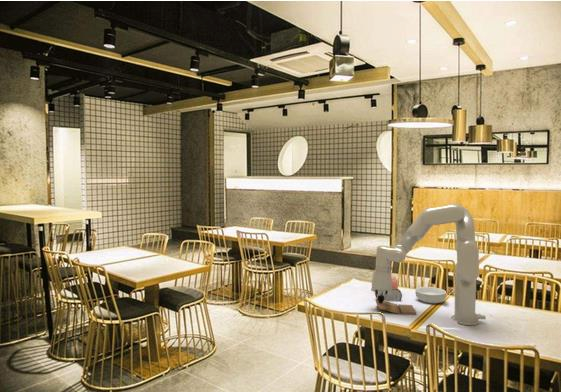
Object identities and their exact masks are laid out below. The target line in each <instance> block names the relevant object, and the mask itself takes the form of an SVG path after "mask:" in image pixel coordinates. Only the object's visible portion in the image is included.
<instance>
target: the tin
mask: <svg viewBox="0 0 561 392" xmlns="http://www.w3.org/2000/svg"><path fill="white" fill-rule="evenodd" d="M391 290H392V292H391V293H387V294H386V295H385V296H384V301H387V302H391V301H392V302H401V300H402V298H403V294H402V292H401V290H400V289H399V287H398V288H391ZM382 291H383V290H380V294H382ZM374 295H375V298H376V299H378V294H377V293H376V292H374Z"/></svg>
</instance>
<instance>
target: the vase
mask: <svg viewBox="0 0 561 392" xmlns="http://www.w3.org/2000/svg"><path fill="white" fill-rule="evenodd" d="M391 277H392V288H398V289H399V282H398V279H397V277H396V276H395V275H394V274H392V273H391Z"/></svg>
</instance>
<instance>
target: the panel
mask: <svg viewBox="0 0 561 392" xmlns="http://www.w3.org/2000/svg"><path fill="white" fill-rule="evenodd" d="M375 302H376V306H377V308H378V309H379V310H383V311H387V312H391V313H394V314H398V315H401V314H400V312H401V311H400V309H399V307H398V304H397V303H393V302H391V301H383V303H379V301H378V299H377V298H376V300H375Z"/></svg>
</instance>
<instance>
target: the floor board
mask: <svg viewBox="0 0 561 392" xmlns="http://www.w3.org/2000/svg"><path fill="white" fill-rule="evenodd" d="M397 305H398V307H399V309H400V311H401V312H400V314H399V315H405V316H407V315H408V316H417V311H416V309H415V308H414V306H413V305H412V304H400V303H399V304H397Z"/></svg>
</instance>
